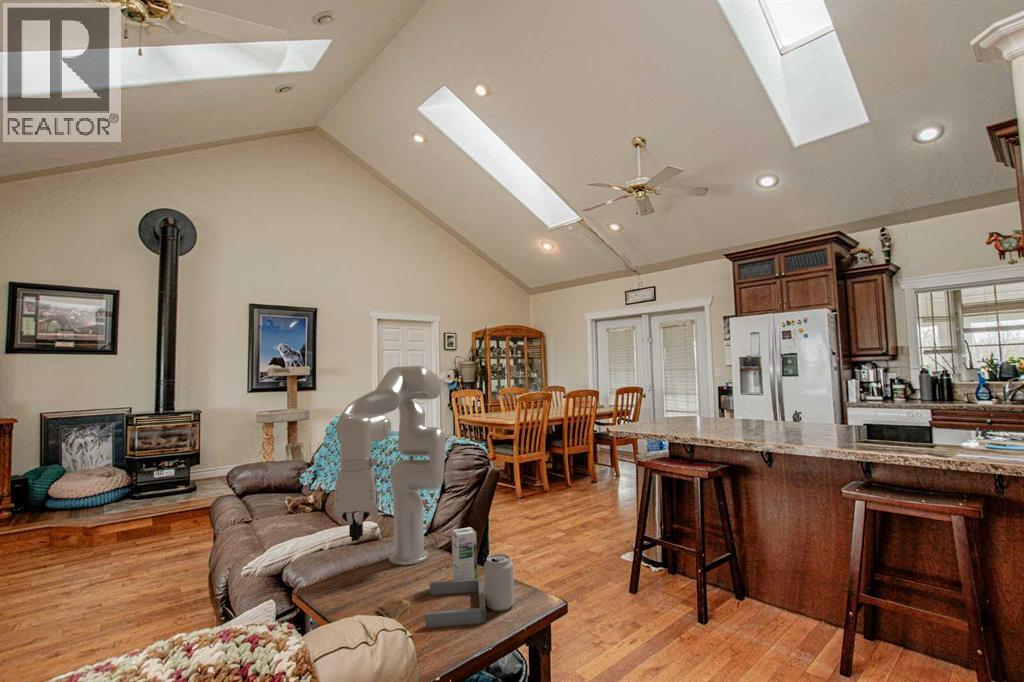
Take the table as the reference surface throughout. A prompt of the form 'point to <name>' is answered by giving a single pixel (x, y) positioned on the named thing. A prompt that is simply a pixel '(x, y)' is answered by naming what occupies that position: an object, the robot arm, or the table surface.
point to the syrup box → (464, 554)
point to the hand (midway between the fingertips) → (356, 539)
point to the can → (499, 582)
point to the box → (462, 614)
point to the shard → (393, 608)
